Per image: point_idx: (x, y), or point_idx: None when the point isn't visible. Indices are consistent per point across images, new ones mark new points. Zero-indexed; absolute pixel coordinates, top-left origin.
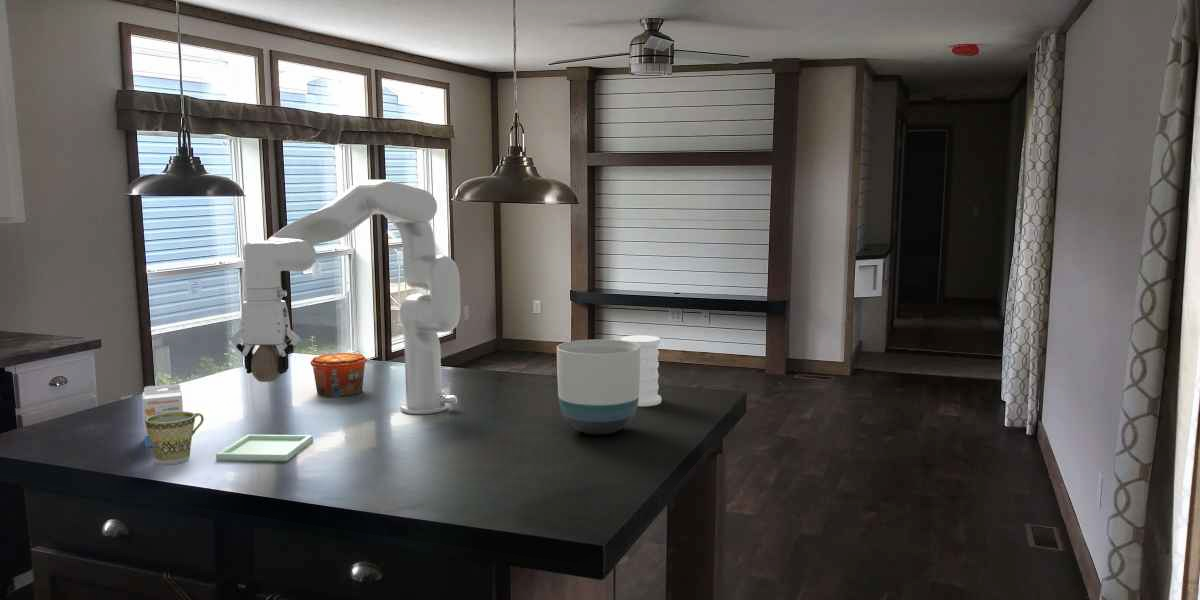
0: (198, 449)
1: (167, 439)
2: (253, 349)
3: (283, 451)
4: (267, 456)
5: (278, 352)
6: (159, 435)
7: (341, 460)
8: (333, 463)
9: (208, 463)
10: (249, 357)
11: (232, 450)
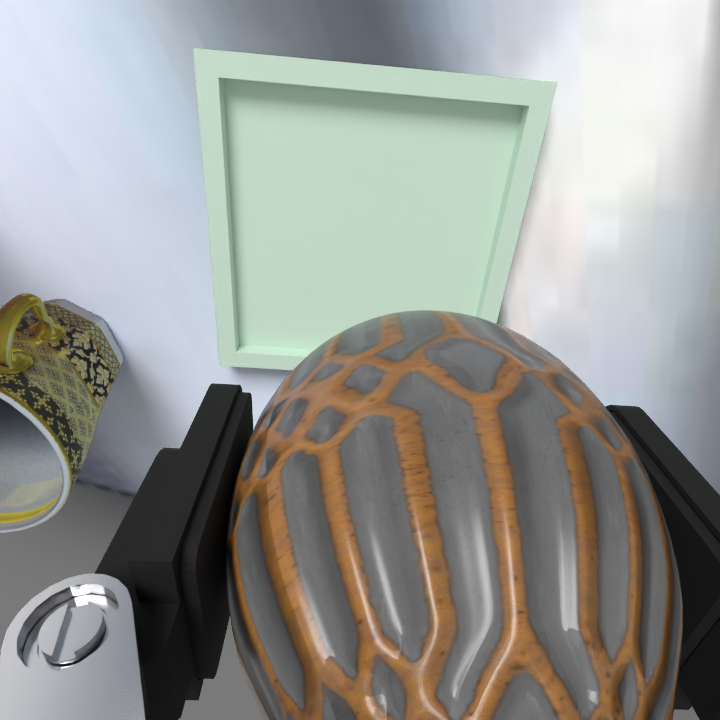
0: (57, 206)
1: (52, 464)
2: (140, 678)
3: (448, 290)
4: None
5: (679, 664)
6: (17, 484)
7: (662, 363)
8: (634, 391)
9: (215, 379)
10: (215, 671)
11: (235, 271)
